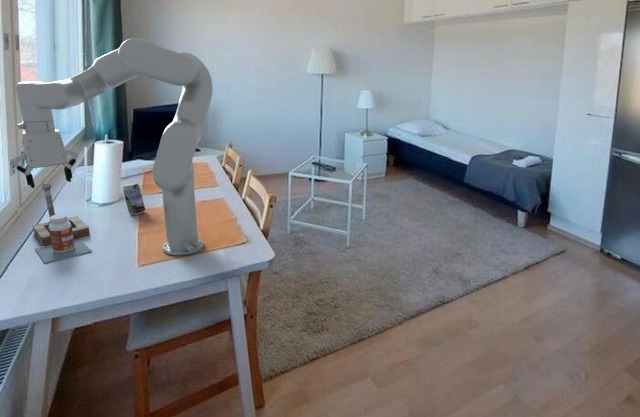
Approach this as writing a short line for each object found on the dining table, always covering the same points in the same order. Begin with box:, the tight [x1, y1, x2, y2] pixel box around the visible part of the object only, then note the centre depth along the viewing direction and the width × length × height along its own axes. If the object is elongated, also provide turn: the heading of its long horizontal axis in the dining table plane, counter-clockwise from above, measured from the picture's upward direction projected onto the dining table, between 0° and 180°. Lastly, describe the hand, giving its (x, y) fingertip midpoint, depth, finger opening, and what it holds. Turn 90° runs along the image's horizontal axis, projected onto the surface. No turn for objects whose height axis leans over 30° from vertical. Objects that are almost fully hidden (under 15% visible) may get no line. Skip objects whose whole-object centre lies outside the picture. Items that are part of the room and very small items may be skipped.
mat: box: [34, 238, 92, 265], centre depth 142 cm, size 13×13×1 cm
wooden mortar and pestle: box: [32, 182, 91, 247], centre depth 154 cm, size 19×14×16 cm
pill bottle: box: [49, 213, 75, 253], centre depth 140 cm, size 6×6×11 cm
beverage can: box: [122, 182, 146, 216], centre depth 173 cm, size 6×7×12 cm
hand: (51, 183), depth 135 cm, fingers open, 9 cm apart
